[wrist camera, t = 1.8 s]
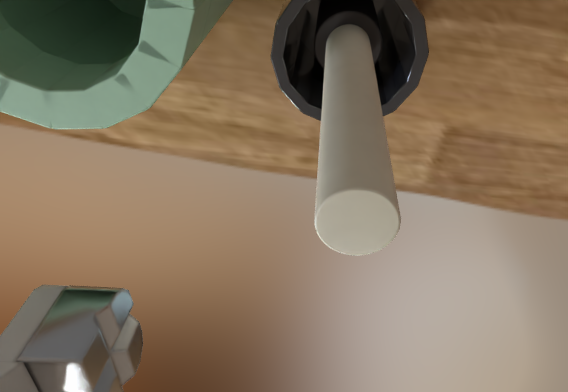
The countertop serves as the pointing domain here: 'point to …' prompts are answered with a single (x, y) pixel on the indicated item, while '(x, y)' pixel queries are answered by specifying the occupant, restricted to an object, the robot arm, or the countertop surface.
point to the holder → (389, 67)
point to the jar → (95, 56)
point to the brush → (352, 133)
